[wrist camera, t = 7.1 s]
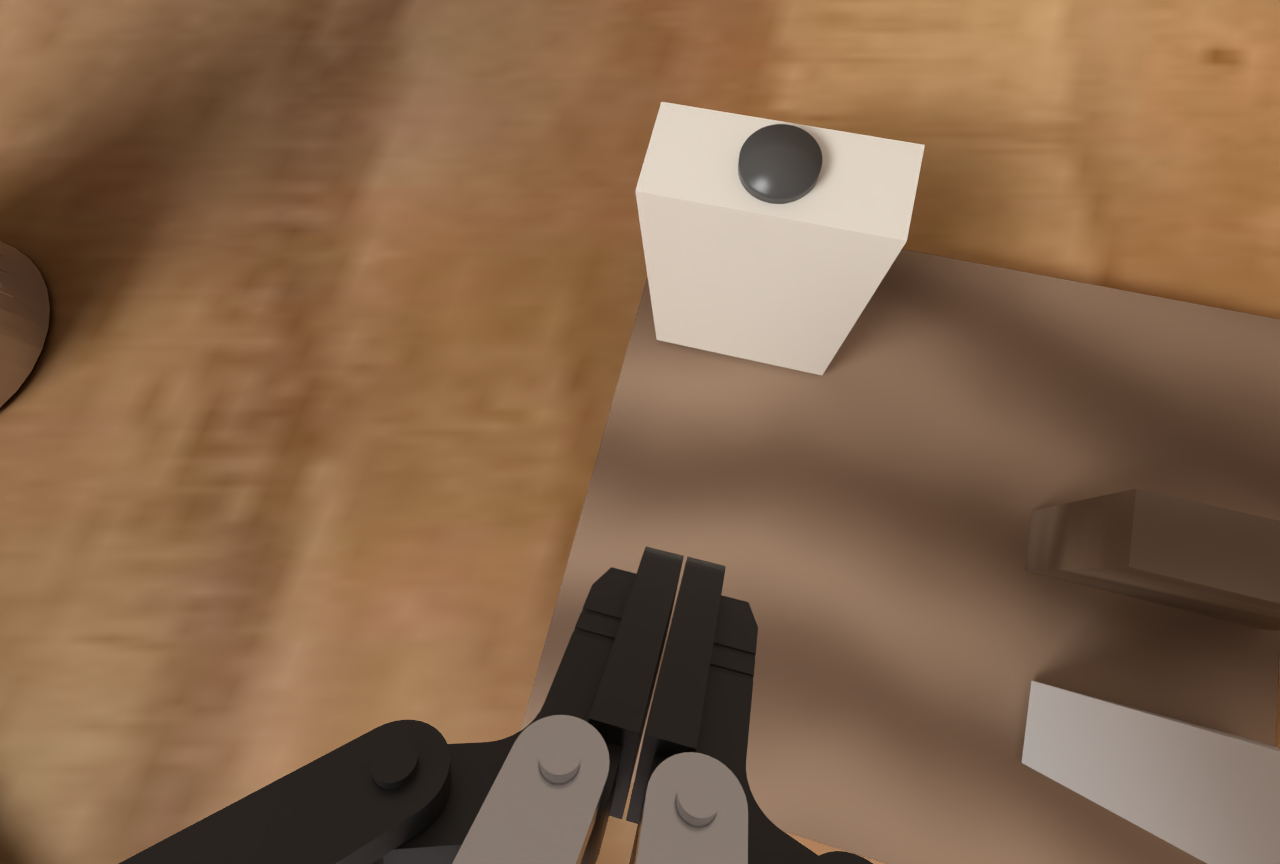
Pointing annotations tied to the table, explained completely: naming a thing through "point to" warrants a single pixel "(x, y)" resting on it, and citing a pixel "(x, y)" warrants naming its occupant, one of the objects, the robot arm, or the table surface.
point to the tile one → (768, 232)
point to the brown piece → (961, 546)
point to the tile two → (1160, 774)
